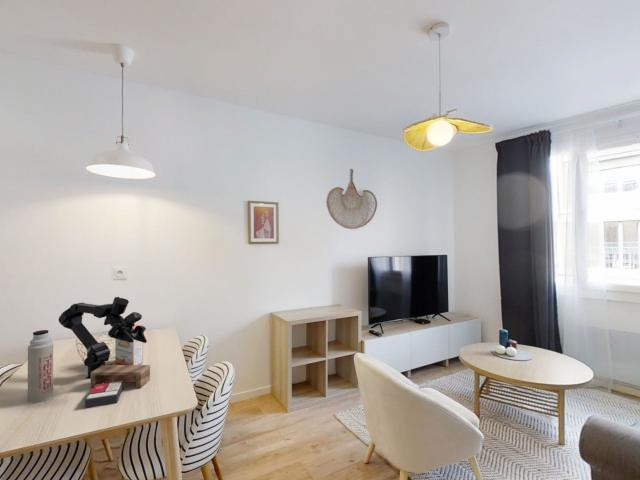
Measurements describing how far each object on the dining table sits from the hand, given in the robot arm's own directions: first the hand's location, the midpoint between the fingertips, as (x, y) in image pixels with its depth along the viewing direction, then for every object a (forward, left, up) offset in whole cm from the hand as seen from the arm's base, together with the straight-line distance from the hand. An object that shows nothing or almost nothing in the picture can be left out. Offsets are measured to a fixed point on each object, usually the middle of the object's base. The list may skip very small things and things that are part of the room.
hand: (139, 341), depth 144 cm
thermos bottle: (-35, -11, -20) cm, 42 cm away
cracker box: (-19, +25, -20) cm, 37 cm away
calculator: (-8, -11, -20) cm, 24 cm away
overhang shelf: (-9, +1, -20) cm, 22 cm away
